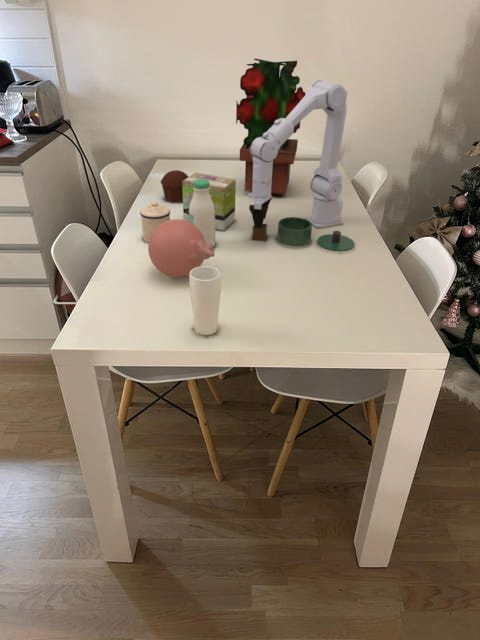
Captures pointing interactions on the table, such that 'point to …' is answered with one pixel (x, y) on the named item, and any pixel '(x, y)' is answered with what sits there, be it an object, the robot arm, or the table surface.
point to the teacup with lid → (153, 218)
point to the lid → (335, 242)
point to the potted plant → (268, 115)
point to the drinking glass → (205, 298)
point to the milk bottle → (203, 210)
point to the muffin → (173, 186)
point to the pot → (294, 231)
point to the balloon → (178, 248)
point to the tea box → (213, 198)
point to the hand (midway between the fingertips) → (260, 223)
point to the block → (259, 233)
